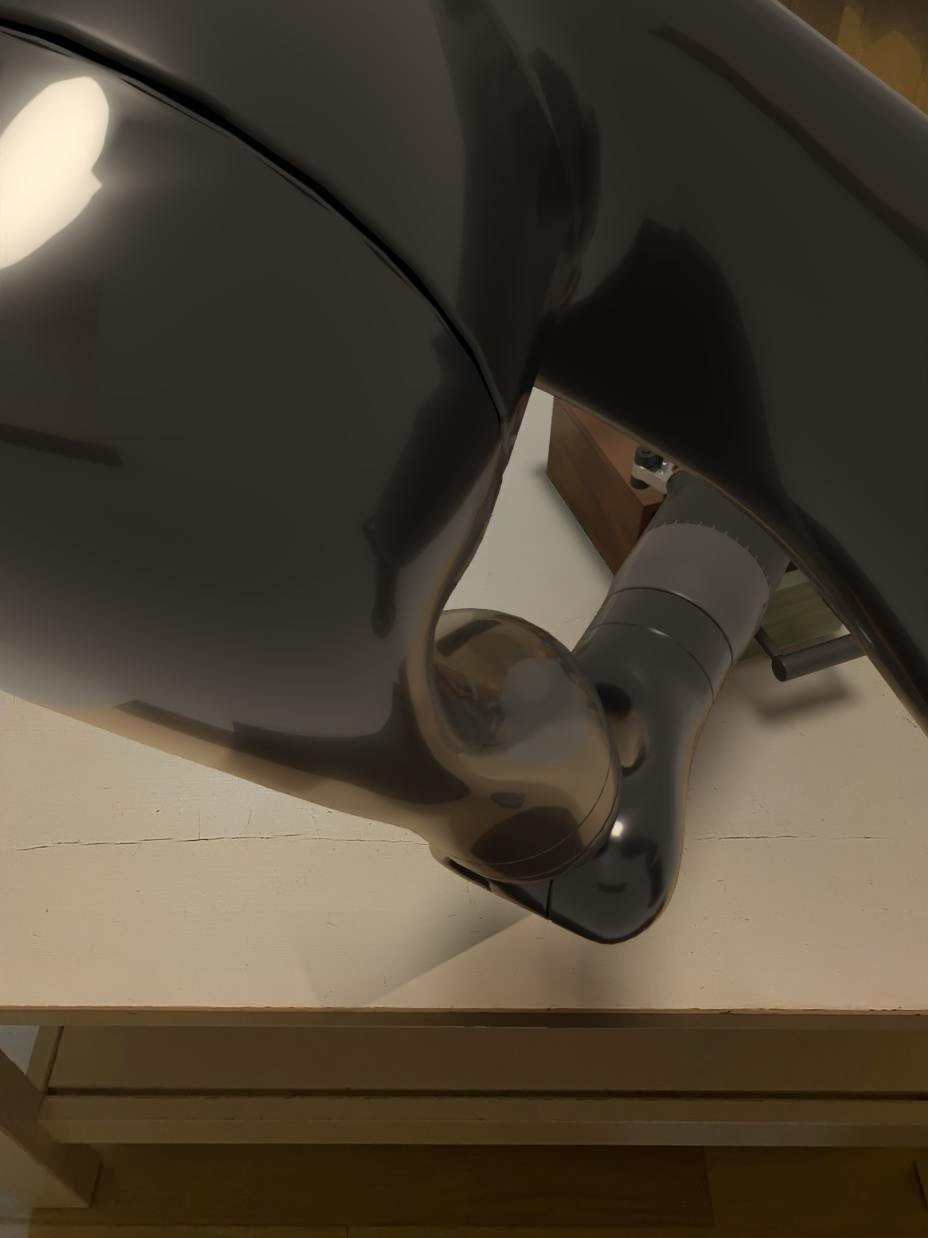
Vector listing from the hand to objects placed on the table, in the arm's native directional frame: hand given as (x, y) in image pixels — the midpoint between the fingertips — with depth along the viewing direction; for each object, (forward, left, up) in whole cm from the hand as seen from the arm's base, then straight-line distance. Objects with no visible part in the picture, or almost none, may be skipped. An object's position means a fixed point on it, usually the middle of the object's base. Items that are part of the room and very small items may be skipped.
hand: (791, 416), depth 59 cm
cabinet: (+5, -8, -15) cm, 18 cm away
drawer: (+1, +3, -14) cm, 15 cm away
